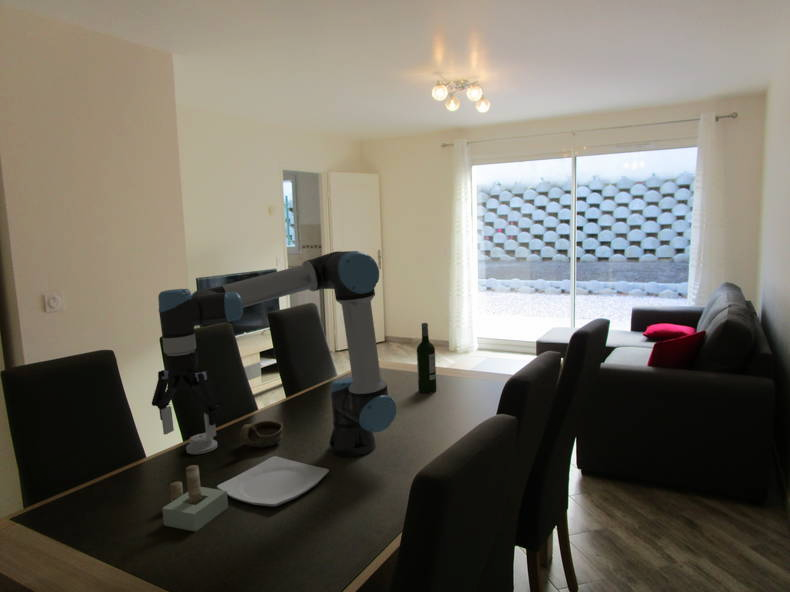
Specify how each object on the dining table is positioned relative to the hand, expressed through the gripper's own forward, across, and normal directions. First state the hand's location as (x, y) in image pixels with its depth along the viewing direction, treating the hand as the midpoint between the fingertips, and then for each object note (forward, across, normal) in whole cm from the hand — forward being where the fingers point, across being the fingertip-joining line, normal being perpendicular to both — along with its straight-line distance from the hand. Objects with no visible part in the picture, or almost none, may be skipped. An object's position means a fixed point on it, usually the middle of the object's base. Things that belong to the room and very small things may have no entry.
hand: (189, 434), depth 134 cm
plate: (+22, -10, -20) cm, 31 cm away
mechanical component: (+22, +30, -36) cm, 52 cm away
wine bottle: (+23, -25, -115) cm, 120 cm away
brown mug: (+22, +11, -43) cm, 49 cm away
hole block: (+22, 0, 0) cm, 22 cm away
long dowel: (+22, 0, 0) cm, 22 cm away
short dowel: (+22, +9, -3) cm, 24 cm away
